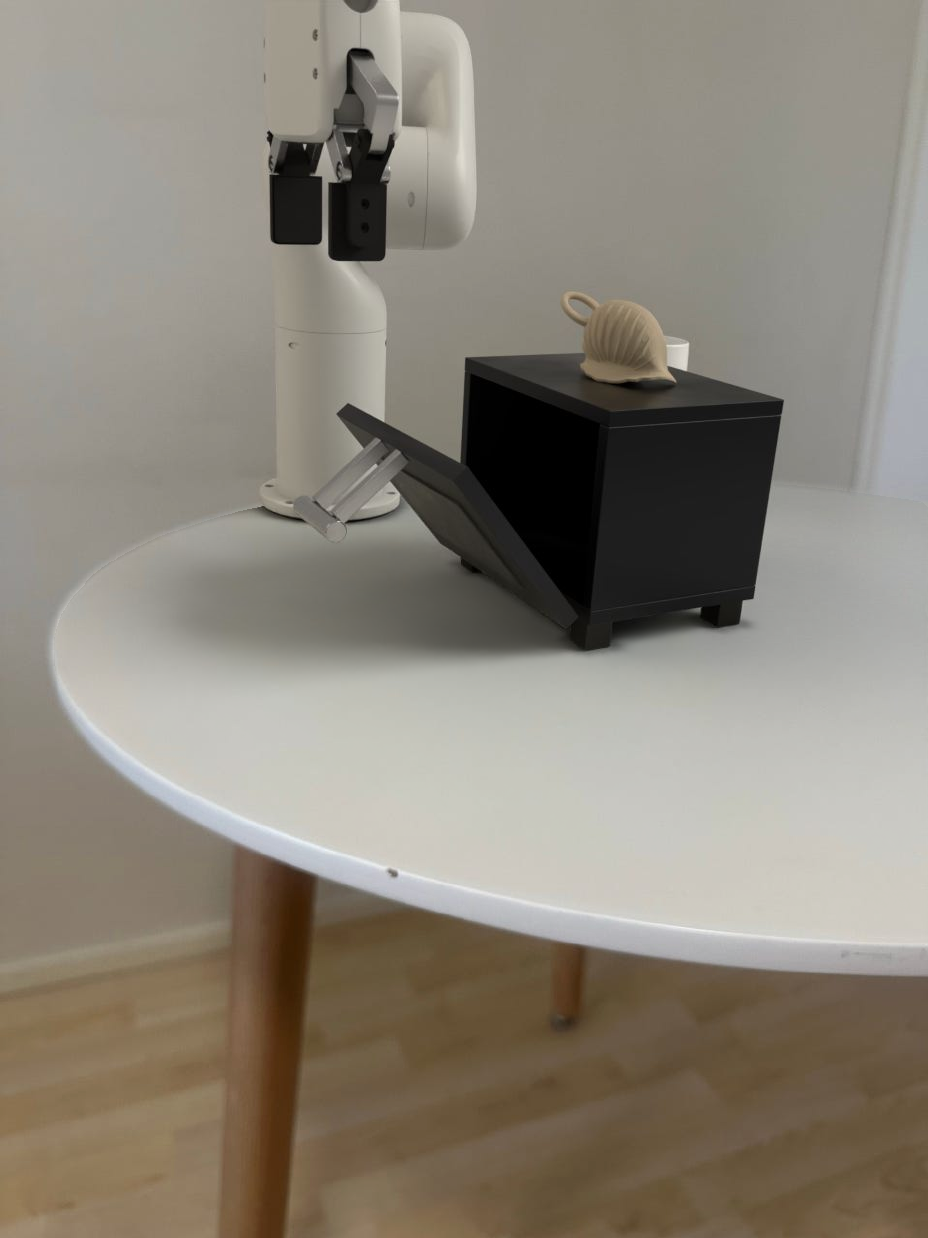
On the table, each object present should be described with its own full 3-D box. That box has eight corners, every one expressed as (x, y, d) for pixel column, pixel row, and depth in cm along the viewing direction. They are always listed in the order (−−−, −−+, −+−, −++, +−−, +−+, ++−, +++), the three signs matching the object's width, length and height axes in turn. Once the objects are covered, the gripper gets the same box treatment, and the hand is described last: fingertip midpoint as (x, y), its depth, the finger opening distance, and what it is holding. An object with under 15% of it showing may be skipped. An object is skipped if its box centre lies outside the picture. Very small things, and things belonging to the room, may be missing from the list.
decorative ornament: (641, 390, 76) (650, 307, 74) (547, 370, 81) (553, 291, 79) (678, 384, 78) (687, 303, 76) (584, 365, 84) (591, 289, 82)
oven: (586, 654, 75) (610, 410, 69) (455, 562, 91) (464, 357, 85) (749, 625, 81) (784, 399, 75) (600, 544, 97) (619, 351, 91)
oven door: (486, 707, 73) (360, 564, 65) (372, 607, 88) (258, 480, 80) (579, 616, 74) (466, 464, 66) (451, 532, 89) (346, 400, 81)
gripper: (463, -101, 56) (448, 268, 62) (332, -58, 70) (331, 239, 76) (316, -124, 52) (316, 268, 59) (210, -74, 66) (219, 238, 73)
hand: (324, 251), depth 68 cm, fingers open, 9 cm apart
